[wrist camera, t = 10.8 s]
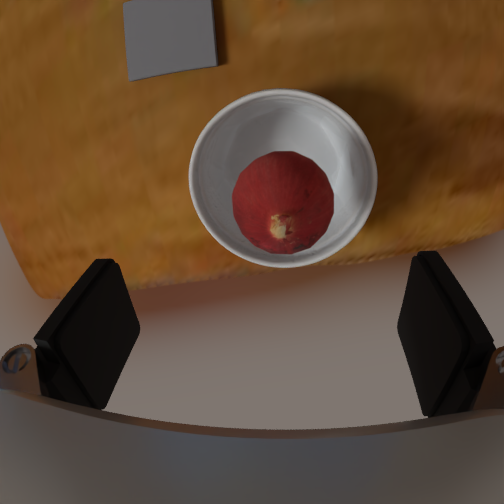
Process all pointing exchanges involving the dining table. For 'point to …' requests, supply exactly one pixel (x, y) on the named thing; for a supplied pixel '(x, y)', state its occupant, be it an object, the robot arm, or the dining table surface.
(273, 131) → the ramekin
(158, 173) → the dining table surface
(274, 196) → the onion
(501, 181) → the dining table surface
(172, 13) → the coaster
